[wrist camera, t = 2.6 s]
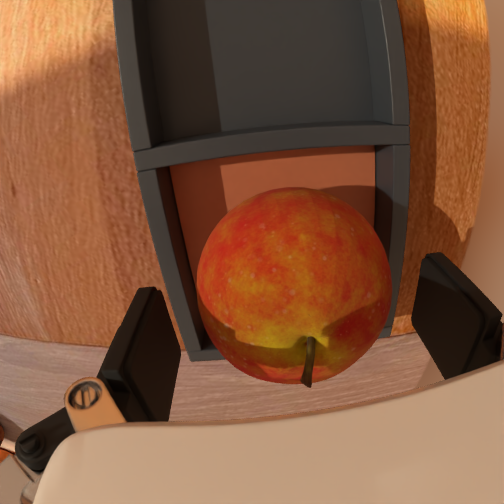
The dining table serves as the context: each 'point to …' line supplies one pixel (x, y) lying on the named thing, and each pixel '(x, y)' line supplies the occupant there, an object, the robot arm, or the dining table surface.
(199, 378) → the dining table surface
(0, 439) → the bread roll
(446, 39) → the dining table surface
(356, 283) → the fruit
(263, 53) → the tray
